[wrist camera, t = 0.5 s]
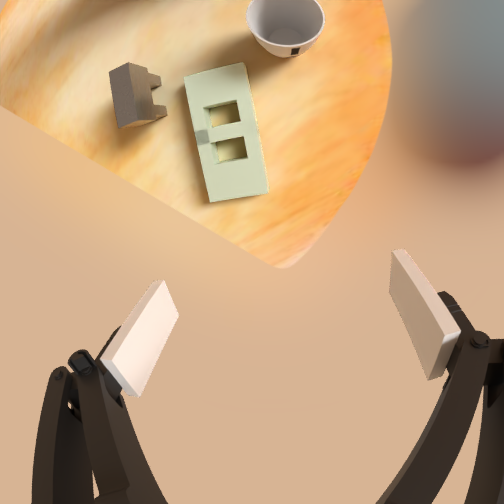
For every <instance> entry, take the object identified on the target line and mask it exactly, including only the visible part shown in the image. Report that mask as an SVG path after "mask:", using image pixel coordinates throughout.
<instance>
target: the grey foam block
mask: <svg viewBox="0 0 504 504" xmlns="http://www.w3.org/2000/svg"><path fill="white" fill-rule="evenodd" d="M109 77H110V84H111V90H112V97H113V102H114V108H115V114H116V119H117V124H118V128H126V127H138V126H141V125H143V124H146V123H149V122H152V121H155V120H157V118H160V117H163V116H167V110H166V106H161V105H154V104H153V99H152V93H151V89H153V88H155V87H158V86H161V85H162V84H161V79H160V76H157V75H154V74H150V73H148V71H147V68H145V67H142V66H139V65H135V64H132V63H129V62H128V63H126V64H124V65H122V66H120V67H118V68H116V69H114V70H112V71H110V72H109Z"/></svg>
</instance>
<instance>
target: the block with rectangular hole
mask: <svg viewBox="0 0 504 504" xmlns="http://www.w3.org/2000/svg"><path fill="white" fill-rule="evenodd" d="M183 78H184V83H185V88H186V93H187V98H188V103H189V108H190V113H191V118H192V123H193V128H194V132H195V137H196V142H197V146H198V151H199V156H200V160H201V165H202V169H203V174H204V178H205V182H206V187H207V191H208V195H209V200H210V202H216V201H222V200H228V199H234V198H240V197H247V196H253V195H260V194H267V193H268V192H269V184H268V178H267V172H266V167H265V161H264V156H263V150H262V145H261V139H260V134H259V129H258V123H257V118H256V113H255V108H254V103H253V98H252V93H251V88H250V83H249V78H248V73H247V69H246V66H245V64H244V63H243V62H241V63H236V64H231V65H227V66H223V67H218V68H214V69H210V70H207V71H203V72H199V73H196V74H192V75H189V76H186V77H183ZM236 102H237V105H238V110H239V115H240V120H241V121H240V122H235V123H230V124H225V125H220V126H216V127H212V122H211V118H210V113H209V108H213V107H217V106H222V105H226V104H231V103H236ZM242 136H244V140H245V145H246V151H247V156H248V157H243V158H237V159H232V160H226V161H221V162H220V161H219V156H218V151H217V147H216V142H217V141H221V140H226V139H231V138H236V137H242Z"/></svg>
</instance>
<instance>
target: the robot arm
mask: <svg viewBox="0 0 504 504" xmlns="http://www.w3.org/2000/svg"><path fill="white" fill-rule="evenodd" d="M391 256H392V257H391V274H390V288H389V292H390V295H391V297H392V299H393V301H394V303H395V305H396V307H397V309H398V311H399V314H400V316H401V318H402V320H403V322H404V324H405V327H406V329H407V331H408V333H409V336H410V338H411V340H412V343H413V345H414V347H415V350H416V352H417V355H418V357H419V359H420V362H421V365H422V367H423V370H424V372H425V375H426V378H427V380H431V379H435V378H438V377H441V376H442V375H443V374H444V371H445V369H446V368H447V370H448V372H449V376H448V378H447V380H446V382H445V384H444V386H443V390H442V393H441V395H440V397H439V400H438V402H437V404H436V406H435V408H434V411H433V413H432V415H431V417H430V419H429V421H428V423H427V425H426V427H425V429H424V431H423V433H422V434H421V436H420V438H419V440H418V442H417V443H416V445H415V447H414V449H413V450H412V452H411V454H410V455H409V457H408V459H407V460H406V462H405V463H404V465H403V466H402V468H401V469H400V471H399V472H398V474H397V475H396V477H395V478H394V480H393V481H392V483H391V484H390V485H389V487H388V488H387V489H386V491H385V492H384V493H383V495H382V496H381V497H380V499H379V500H378V501H377V502H376V504H432V502H433V500H434V499H435V497H436V496H437V494H438V492H439V490H440V489H441V487H442V485H443V483H444V482H445V480H446V478H447V476H448V474H449V472H450V470H451V468H452V466H453V464H454V462H455V460H456V458H457V456H458V454H459V452H460V449H461V447H462V445H463V442H464V440H465V438H466V435H467V433H468V430H469V427H470V425H471V422H472V419H473V416H474V413H475V410H476V407H477V404H478V401H479V397H480V394H481V390H482V387H483V386H484V394H483V412H482V423H481V430H480V438H479V445H478V451H477V456H476V461H475V466H474V470H473V474H472V478H471V482H470V486H469V490H468V493H467V496H466V500H465V503H464V504H504V339H490V338H489V336H487V335H486V334H485V333H484V332H481V331H475V329H474V328H473V326H472V325H471V323H470V321H469V320H468V318H467V317H466V315H465V314H464V312H463V311H461V308H460V307H459V305H457V302H456V301H455V300H454V298H453V297H452V296H451V295H449V294H448V293H447V292H445V291H443V292H439V293H436V291H435V290H434V288H433V287H432V285H431V284H430V283H429V282H428V280H427V278H426V277H425V276H424V274H423V273H422V272H421V270H420V269H419V268H418V266H417V265H416V264H415V262H414V261H413V260H412V258H411V257H410V256H409V254H408V253H407V252H406V251H405V249H399V250H393V251H392V255H391ZM178 316H179V314H178V312H177V310H176V307H175V305H174V303H173V301H172V298H171V296H170V293H169V291H168V289H167V286H166V284H165V281H164V280H157V281H153V282H152V284H151V285H150V286H149V288H148V289H147V290H146V292H145V293H144V295H143V296H142V297H141V299H140V300H139V302H138V303H137V304H136V306H135V307H134V309H133V310H132V312H131V313H130V314H129V316H128V317H127V319H126V320H125V322H124V323H123V325H122V326H120V327H119V328H117V329H116V330H115V331H114V332H113V334H112V335H111V337H110V339H109V340H108V341H107V343H106V345H105V346H104V347H103V349H102V350H101V351H100V353H99V355H98V356H97V358H96V359H95V361H94V359H93V358H92V357H91V355H90V354H89V352H88V351H87V350H78V351H77V352H75V353H73V354H72V355H71V357H70V358H69V360H68V365H69V366H70V367H71V368H72V369H73V371H74V372H72V373H70V372H69V371H68V369H67V368H66V367H64V366H60V367H58V368H56V369H55V370H54V371H53V372H52V373H51V375H50V378H49V382H48V386H47V390H46V393H45V398H44V402H43V407H42V411H41V416H40V421H39V427H38V433H37V439H36V447H35V454H34V464H33V478H32V503H31V504H168V503H167V502H166V500H165V498H164V496H163V495H162V492H161V490H160V488H159V486H158V484H157V482H156V480H155V478H154V476H153V474H152V472H151V470H150V468H149V465H148V463H147V461H146V459H145V456H144V454H143V452H142V449H141V447H140V444H139V442H138V439H137V436H136V434H135V431H134V428H133V426H132V423H131V420H130V417H129V414H128V411H127V408H126V405H125V402H124V399H123V396H122V395H121V394H120V392H121V390H122V388H123V390H124V391H125V392H126V393H127V394H128V395H129V396H135V397H140V396H141V394H142V392H143V389H144V387H145V385H146V383H147V381H148V379H149V377H150V374H151V372H152V370H153V368H154V366H155V364H156V362H157V359H158V357H159V355H160V353H161V351H162V349H163V347H164V345H165V343H166V341H167V338H168V337H169V335H170V332H171V331H172V328H173V326H174V324H175V322H176V320H177V318H178ZM68 402H69V403H70V404H71V409H70V408H69V407H68ZM92 470H93V473H94V477H95V480H96V484H97V487H98V490H99V496H98V497H96V498H95V499H94V494H93V477H92Z"/></svg>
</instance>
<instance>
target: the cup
mask: <svg viewBox="0 0 504 504" xmlns="http://www.w3.org/2000/svg"><path fill="white" fill-rule="evenodd" d="M246 21H247V24H248V27H249V28H250V30H251V32H252V33H253V35H254V37H255V38H256V40H257V41H258V43H259V44H260V45H261V46H262V47H264V48H265V49H266V50H267V51H268V52H270V53H271V54H273V55H275V56H278V57H283V58H292V57H296V56H299V55H301V54H303V53H304V52H305V51H307V50H308V49H309V48H310V47H311V46H312V45H313V44H314V43H315V42H316V40H317V38H318V37H319V35H320V33H321V32H322V30H323V28H324V24H325V15H324V12H323V9H322V7H321V6H320V4H319V3H318V2H317V1H316V0H252V1H251V3H250V4H249V6H248V8H247V11H246Z"/></svg>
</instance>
